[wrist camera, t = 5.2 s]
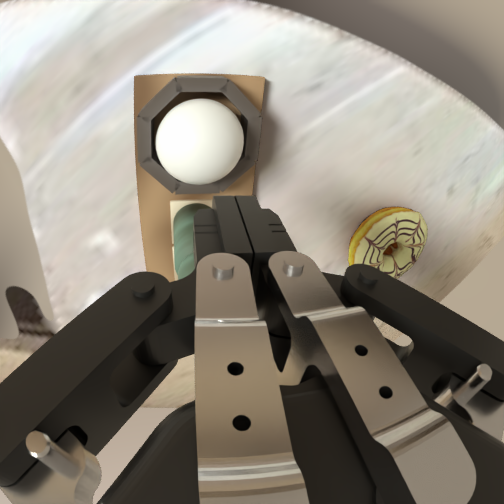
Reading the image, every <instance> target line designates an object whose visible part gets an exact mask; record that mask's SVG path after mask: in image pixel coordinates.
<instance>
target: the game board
mask: <svg viewBox="0 0 504 504" xmlns="http://www.w3.org/2000/svg"><path fill="white" fill-rule="evenodd" d="M264 84H265V77H260V76H247V75H231V74H153V75H137V76H134V134H135V158H136V175H137V189H138V201H139V212H140V222H141V231H142V240H143V248H144V256H145V263H146V270H147V272H155V273H158V274H161V275H162V276H164V277H165V278H167V279H168V281H169V282H173V281H176V280H178V275H177V273H176V271H175V264H174V233H173V221H174V217H175V215H176V213H177V212H178V211H179V210H180V209H181V208H182V207H184V206H186V205H188V204H192V203H201V204H205V205H207V206H209V207H210V208H212V199H213V196H235V195H242V196H252V192H253V183H254V174H255V165H256V161H258V153H259V144H260V135H261V126H262V116H261V110H262V101H263V92H264ZM192 99H210V100H214V101H217V102H219V103H221V104H223V105H225V106H226V107H228V108H229V109H230V110H231V111H232V112H233V113H234V114H235V115H236V117H237V118H238V120H239V122H240V124H241V127H242V130H243V135H244V146H243V151H242V154H241V157H240V159H239V161H238V163H237V164H236V166H235V167H234V168H233V169H232V171H231V172H229V173H228V174H227V175H226V176H225V177H223V178H221V179H220V180H217V181H215V182H212V183H208V184H202V185H194V184H188V183H185V182H182V181H180V180H178V179H176V178H174V177H173V176H172V175H170V174H169V173H168V172H167V171H166V170H165V168H164V167H163V166H162V164H161V162H160V160H159V158H158V155H157V151H156V135H157V131H158V128H159V125H160V123H161V121H162V120H163V118H164V117H165V116H166V114H167V113H168V112H169V111H170V110H171V109H173V108H174V107H175V106H177V105H179V104H181V103H183V102H185V101H188V100H192Z"/></svg>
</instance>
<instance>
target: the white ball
mask: <svg viewBox="0 0 504 504" xmlns="http://www.w3.org/2000/svg"><path fill="white" fill-rule="evenodd" d="M243 146H244V135H243V130H242V127H241V124H240V122H239V120H238V118H237V117H236V115H235V114H234V113H233V112H232V111H231V110H230V109H229V108H228V107H226V106H225V105H223V104H221V103H219V102H217V101H214V100H210V99H192V100H188V101H185V102H183V103H181V104H179V105H177V106H175V107H174V108H173V109H171V110H170V111H169V112H168V113H167V114H166V116H165V117H164V118H163V120H162V121H161V123H160V125H159V128H158V131H157V135H156V151H157V155H158V158H159V160H160V162H161V164H162V166H163V167H164V168H165V170H166V171H167V172H168V173H169V174H170V175H172V176H173V177H174V178H176V179H178V180H180V181H182V182H185V183H188V184H194V185H202V184H208V183H212V182H215V181H217V180H220V179H221V178H223V177H225V176H226V175H227V174H228V173H229V172H231V171H232V169H233V168H234V167H235V166H236V164H237V163H238V161H239V159H240V157H241V154H242V151H243Z"/></svg>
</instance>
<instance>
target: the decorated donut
mask: <svg viewBox="0 0 504 504" xmlns="http://www.w3.org/2000/svg"><path fill="white" fill-rule="evenodd" d="M427 230H428V229H427V225H426V223H425V221H424V219H423V218H422V216H421V214H420V213H419V212H414V211H413V210H411V209H407V208H402V207H390V208H384V209H381V210H379V211H376V212H375V213H373V214H372V215H370V216H369V217H368V218H367V219H365V221H363V222H362V223H361V225H360V226H359V227H358V229H357V230H356V231H355V233H354V235H353V236H352V238H351V241H350V245H349V258H348V262H349V266H350V265H353V264H367V265H370V266H373V267H375V268H377V269H379V270H381V271H383V272H384V273H386V274H388V275H390V276H392V277H394V278H395V279H398V278H399V277H400V276H402V275H403V274H404V273H405V272H407V271H408V270H409V269H410V268H411V267H412V266H413V265H414V263H415V262H416V261H417V259H418V257H419V256H420V254H421V252H422V250H423V248H424V245H425V242H426V239H427ZM388 245H389V247H388ZM387 247H388V248H387Z"/></svg>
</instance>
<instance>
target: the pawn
mask: <svg viewBox="0 0 504 504" xmlns="http://www.w3.org/2000/svg"><path fill="white" fill-rule="evenodd" d="M199 209H212V208H210V207H209V206H207V205H205V204H201V203H192V204H188V205H186V206H184V207H182V208H181V209H180V210H179V211H178V212H177V213H176V215H175V217H174V221H173V233H174V264H175V271H176V273H177V275H178V280H179V279H182V278H184V277H186V276H188V275H189V274H190V273H192V272H193V270H194V269H195V267H194V254H193V217H194V215H195V214H196V212H197V211H198V210H199Z"/></svg>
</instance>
